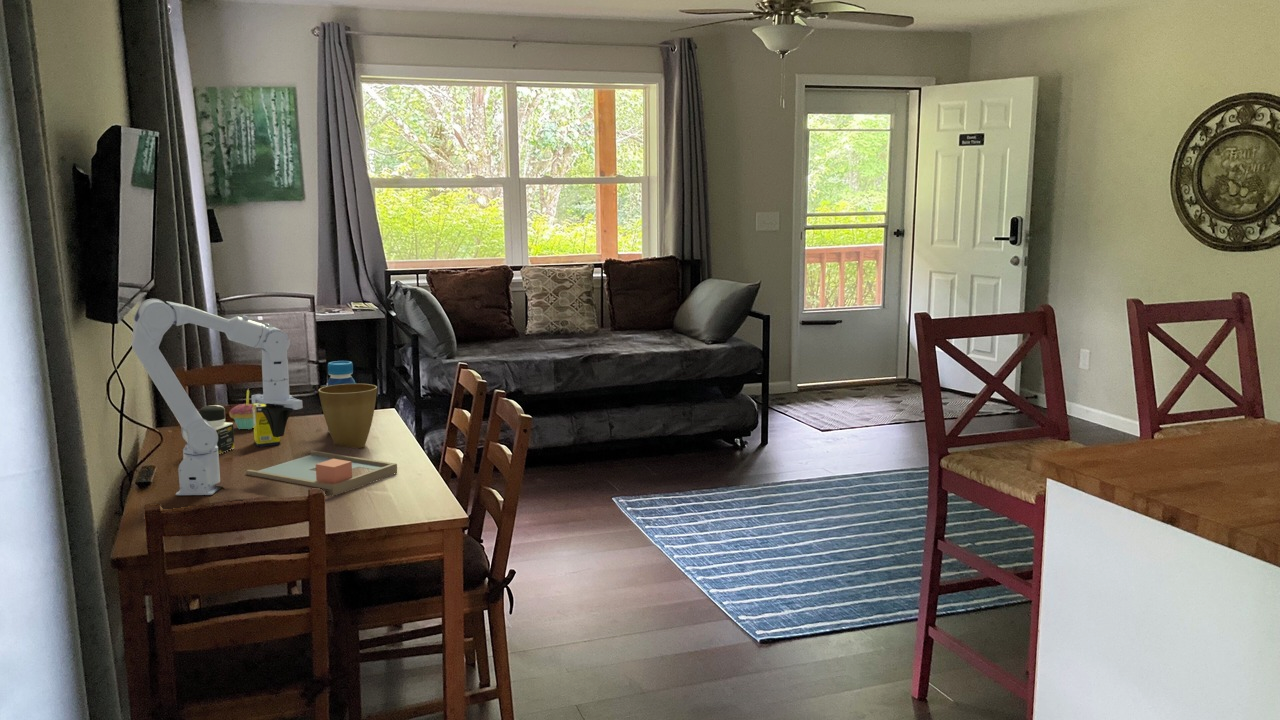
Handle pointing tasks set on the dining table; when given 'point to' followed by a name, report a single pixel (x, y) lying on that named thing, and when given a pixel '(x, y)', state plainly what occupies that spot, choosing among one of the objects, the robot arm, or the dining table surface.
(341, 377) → the beverage bottle
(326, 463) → the block
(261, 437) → the supplement box
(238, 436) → the dining table surface
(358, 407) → the plant pot
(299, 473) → the shallow rimmed tray
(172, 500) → the dining table surface
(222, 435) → the medicine bottle
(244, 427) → the cupcake
